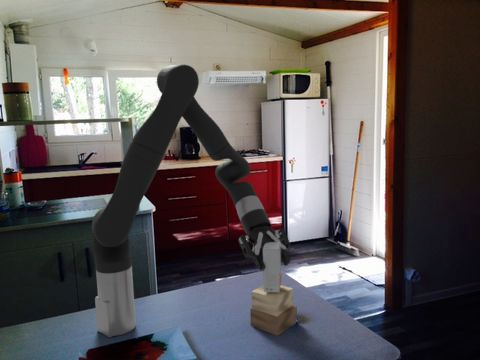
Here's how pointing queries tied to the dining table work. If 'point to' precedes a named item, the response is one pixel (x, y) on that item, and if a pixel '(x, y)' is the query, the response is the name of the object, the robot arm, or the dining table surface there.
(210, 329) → the dining table surface
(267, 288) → the skincare box
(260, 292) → the beech block
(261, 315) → the walnut block
